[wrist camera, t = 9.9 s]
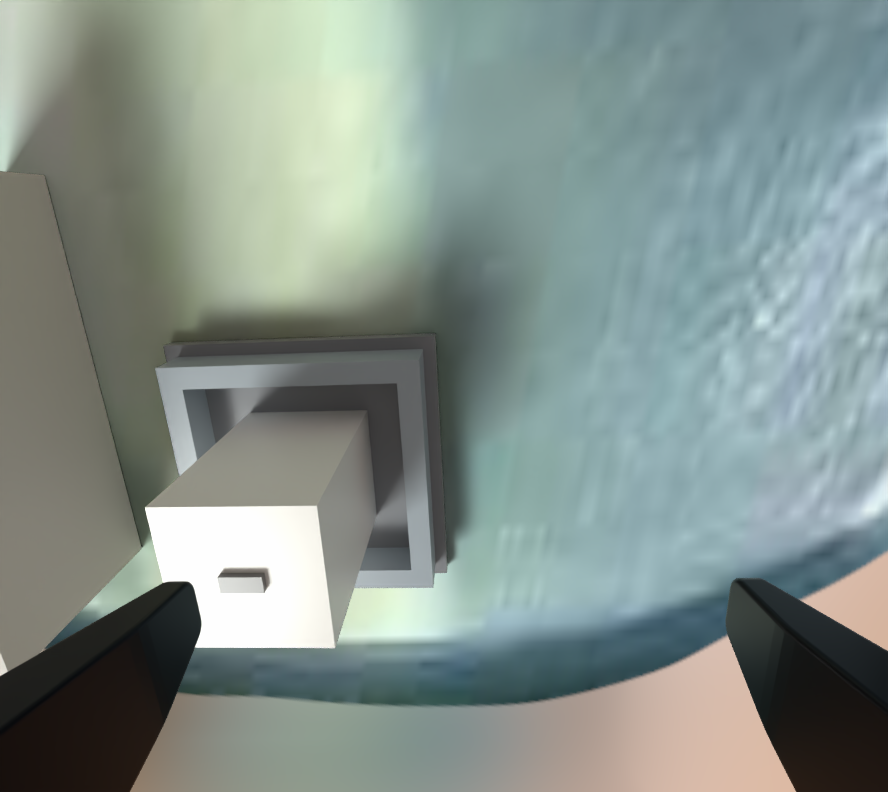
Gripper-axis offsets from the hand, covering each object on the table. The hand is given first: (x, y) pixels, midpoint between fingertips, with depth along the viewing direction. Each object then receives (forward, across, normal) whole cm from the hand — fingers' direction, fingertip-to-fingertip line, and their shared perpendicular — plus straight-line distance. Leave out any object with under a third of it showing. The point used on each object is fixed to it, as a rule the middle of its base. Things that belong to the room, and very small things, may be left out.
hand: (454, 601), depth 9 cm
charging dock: (+12, +6, +3) cm, 14 cm away
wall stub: (+12, +15, 0) cm, 19 cm away
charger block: (+11, +6, +3) cm, 13 cm away
